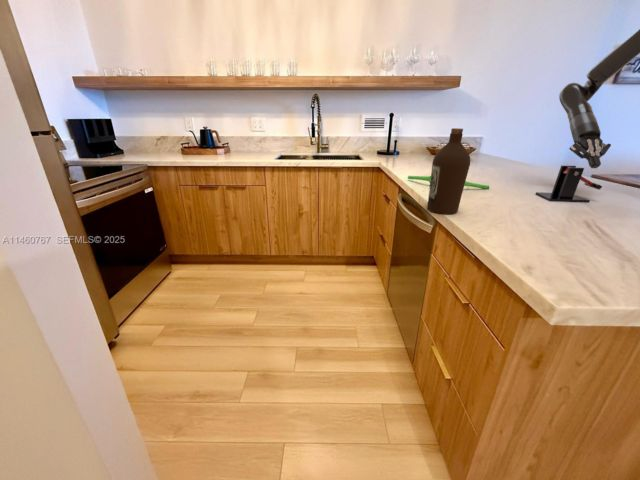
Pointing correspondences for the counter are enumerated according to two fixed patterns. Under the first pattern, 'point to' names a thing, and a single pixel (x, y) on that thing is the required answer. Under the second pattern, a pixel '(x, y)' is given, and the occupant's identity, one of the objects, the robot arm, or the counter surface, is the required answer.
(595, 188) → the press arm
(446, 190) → the olive oil
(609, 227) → the counter surface
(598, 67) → the robot arm
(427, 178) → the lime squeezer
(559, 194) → the bracket
